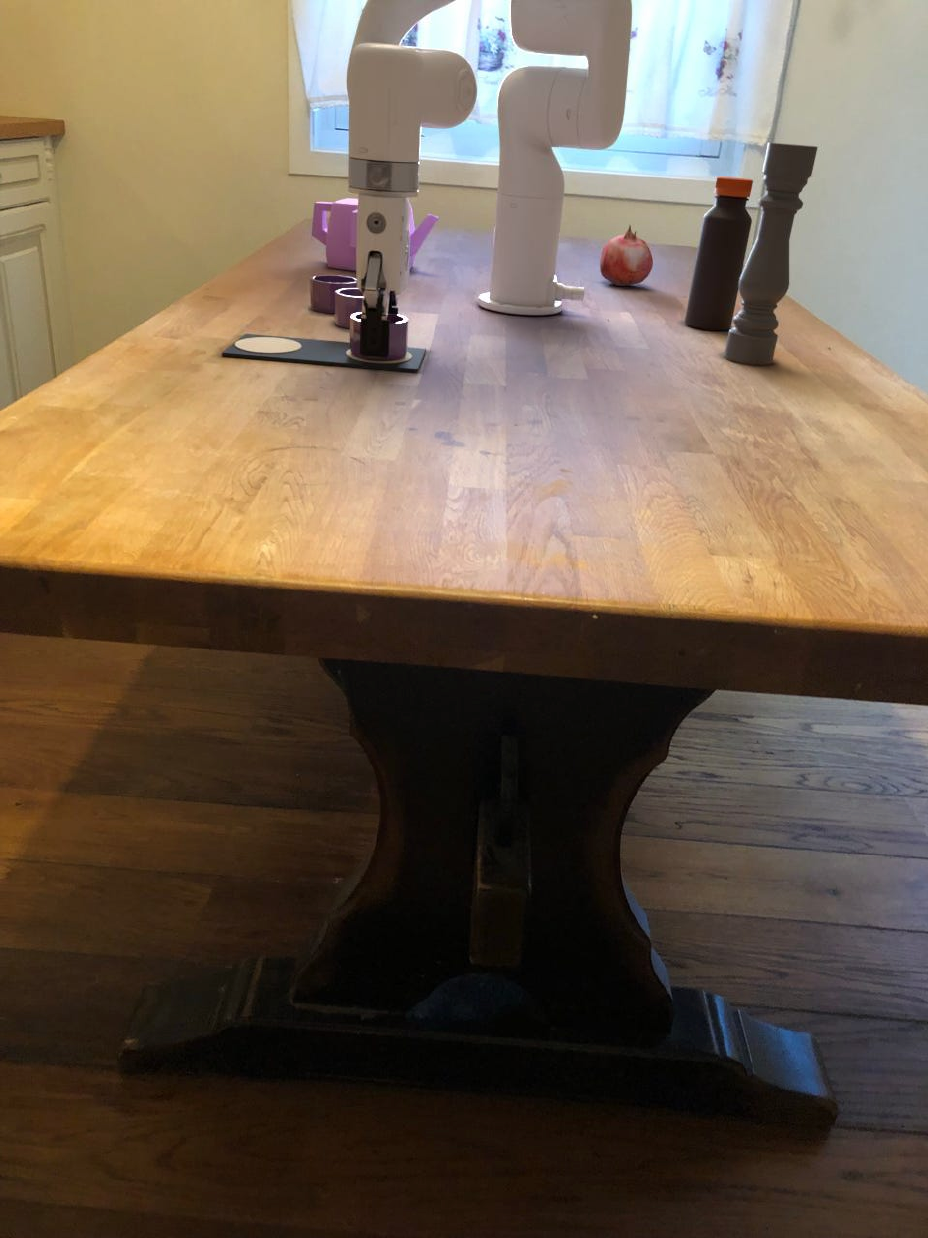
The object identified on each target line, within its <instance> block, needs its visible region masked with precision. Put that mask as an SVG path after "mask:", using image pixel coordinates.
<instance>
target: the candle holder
mask: <svg viewBox="0 0 928 1238" xmlns="http://www.w3.org/2000/svg"><path fill="white" fill-rule="evenodd" d="M818 148H819V146H815V145H807V144H806V145H804V144H795V143H794V144H792V143H781V142H767V146H766V151H765V155H764V161H763V165H762V171H761V172H762V173H763V178H762V180H763V183H764V189H765V194H764V195H763V196H761V197H760V198H759V199H758V203H757V204H758V206H759V207H760V211H761V216H760V220H759V225H758V231H757V236H756V238H755V241H754V243H753V246H752V248H751V250H750V253H749V255H748V257H747V260H746V262H745V263H744V264H745V265H744V266H743V268H742V273H741V276H740V278H739V283H738V292H739V296H740V298H741V299H742V301H741V305H742V308H741V309H740V310H739V311H738V312H737V314H736V315H735V316H733V318H732V324H733V325H734V326H733V327H730V328H729V329H728V332H727V338H726V343H725V348H724V351H723V352H724V353H723V357H724V358H725V359H726V360H729V361H731V362H735V363H738V364H744V365H752V366H766V365H771V364H772V363H773V361H774V355H775V352H776V348H777V343H778V338H779V335H778V334H777V333H776V332H775V330H777V328H778V327H779V325H780V323H779V321H778V320H777V315H776V313H775V310H776V309H777V308H778V303H780V301H782V300H783V298H784V297H785V296H786V294H787V292H788V290H789V287H790V239H791V234H792V229H793V225H794V221H795V215H796V214H798V211H800V210H802V208H803V206H804V202H803V201H802V199H801V198H800V193H802V192H803V189H804V188H805V187H806V186H807V185H808V181H809V178H811V177H812V176H813V170H814V167H815V162H816V161H815V160H816V156H817V153H818Z"/></svg>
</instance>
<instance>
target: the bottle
mask: <svg viewBox="0 0 928 1238" xmlns="http://www.w3.org/2000/svg"><path fill="white" fill-rule="evenodd" d="M753 183H754V180H753V179H752V178H751V179H750V178H744V177H735V176H717V177H716V182H715V188H714V197H713V198H715V201H714V205H713V206H712V207H711V208H710V209H709V210H708V211H707V212H705V213H704V215H703V217H702V223H701V228H700V232H699V233H700V234H699V240H698V243H697V244H698V245H697V250H696V257H695V262H694V267H693V273H692V277H691V278H692V279H691V285H690V289H689V294H688V295H689V296H688V301H687V306H686V307H687V308H686V312H685V319H684V323H685V324H686V325H687V326H689V327H692V328H695V329H700V330H704V331H705V330H706V331H726V330H730V329H731V328H732V324H733V318H734V313H735V309H736V308H735V307H736V303H737V297H738V292H739V288H738V283H739V278H740V276H741V274H742V271H743V269H744V264H745V258H746V253H747V248H748V243H749V238H750V233H751V227H752V224H753V219H752V216H751V214H750V213H749V211H748V210H747V208H746V206H747V202H749V200H750V197H751V193H752V188H753Z"/></svg>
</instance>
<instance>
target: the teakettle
mask: <svg viewBox="0 0 928 1238" xmlns="http://www.w3.org/2000/svg"><path fill="white" fill-rule="evenodd" d="M313 203H314V205H313V212H312V213H313V215H312V226H311V237H313V238H314V239H316V240H318V242H319V243H322V244H323V245H324V246H325V258H326V262H327V265H328V268H330V269H336V270H342V271H343V270H344V271H352V272H356V246H357V213H358V198H348V197H347V198H343V199H339V200H336V201H334V202H327V201H316V202H313ZM327 212H330V213H329V218H328V222H327ZM438 220H439V216H437V215H433V214H431V213H428V214H427V216H426V217H425V218H424V219H423V221H421V223H420V224H419V225H418V226H417V227H416V226H415V220H414V213H413V208H412V204H410V259H409V270H410V269H412V268H413V266H414V262H415V260H416V254H417V253H418V251H419V250H420V248H421V247H422V245H423V244H424V242H425V240H426V239H427V238H428V236H429V234H430V233H431V232H432V230H433V228H434V227H435V225H436V223H437V222H438ZM327 223H328V224H327ZM415 227H416V228H415Z"/></svg>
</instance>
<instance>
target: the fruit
mask: <svg viewBox="0 0 928 1238" xmlns="http://www.w3.org/2000/svg"><path fill="white" fill-rule="evenodd" d="M653 265H654V259H653V255H652V252H651V249H650V247H649V245H648V243H647V242H646V241H645V240H644V239H642V238H641V237H638V236H637V230H635V231H634V232H633V231H632V226H631V224H629V225H628V229H627V230H626V232H625V234H621V235H617V236H615V237H613V238H612V239H610V240H609V241H607V242H606V243H605V244H604V246H603V248H602V250H601V252H600V258H599V270H600V274H601V276H602V278H604V279H605V280H607V281H609V282H611V283H613V284H614V285H615V286H618V287H626V286H632V285H638V284H641V283H642V282H644V281H645V280H646V279H647V278H648V277H649V275H650V273H651V272H652V269H653Z"/></svg>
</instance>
